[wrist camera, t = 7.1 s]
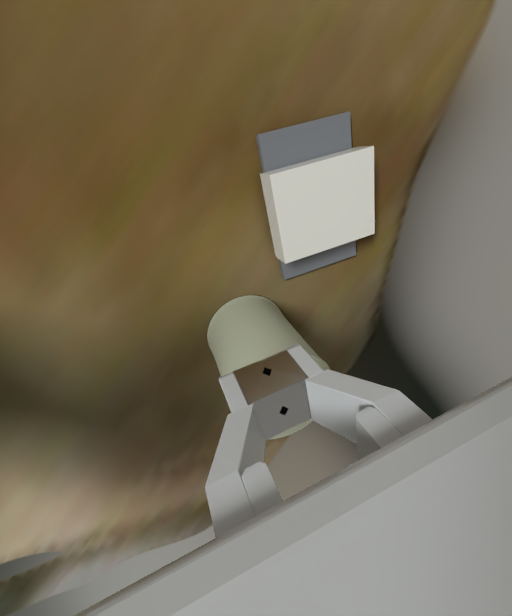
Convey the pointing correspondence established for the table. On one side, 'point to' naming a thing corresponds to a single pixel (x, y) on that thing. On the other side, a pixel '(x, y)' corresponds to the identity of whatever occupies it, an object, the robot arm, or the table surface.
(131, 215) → the table surface
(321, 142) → the mat
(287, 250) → the white box
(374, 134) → the table surface
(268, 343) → the pale green cylinder
